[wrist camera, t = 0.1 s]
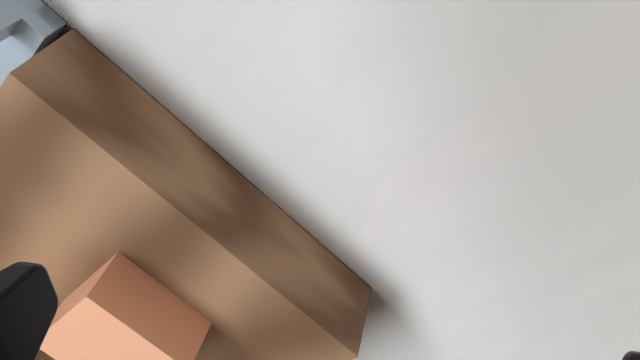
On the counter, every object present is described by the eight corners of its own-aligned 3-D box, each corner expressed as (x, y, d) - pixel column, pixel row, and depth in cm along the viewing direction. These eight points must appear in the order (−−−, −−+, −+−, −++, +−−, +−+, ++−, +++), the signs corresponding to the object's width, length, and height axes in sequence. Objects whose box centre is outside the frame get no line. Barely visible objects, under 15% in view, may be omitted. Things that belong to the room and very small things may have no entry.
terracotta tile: (211, 322, 26) (189, 370, 24) (151, 361, 28) (126, 407, 26) (118, 251, 24) (86, 296, 22) (64, 299, 27) (31, 343, 25)
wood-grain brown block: (371, 287, 28) (357, 356, 25) (150, 410, 39) (121, 468, 36) (73, 28, 23) (9, 72, 20) (-84, 251, 34) (-141, 303, 31)
